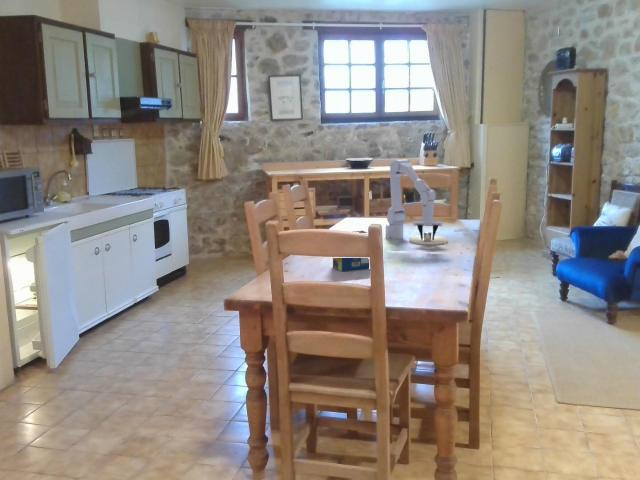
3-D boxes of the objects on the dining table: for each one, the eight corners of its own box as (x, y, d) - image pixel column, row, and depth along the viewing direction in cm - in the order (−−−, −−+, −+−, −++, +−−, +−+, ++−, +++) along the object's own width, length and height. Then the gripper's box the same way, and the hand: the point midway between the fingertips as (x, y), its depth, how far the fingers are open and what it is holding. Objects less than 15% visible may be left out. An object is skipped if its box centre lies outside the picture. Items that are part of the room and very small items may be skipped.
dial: (410, 237, 334) (411, 226, 333) (447, 238, 329) (448, 227, 328) (407, 244, 315) (407, 232, 313) (447, 245, 310) (447, 233, 309)
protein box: (332, 266, 273) (332, 233, 270) (363, 263, 278) (363, 230, 275) (341, 272, 263) (341, 236, 260) (373, 268, 268) (373, 234, 266)
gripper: (413, 214, 309) (412, 240, 312) (442, 215, 306) (441, 241, 308) (414, 212, 316) (413, 238, 318) (442, 213, 313) (442, 238, 315)
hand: (427, 239), depth 314 cm, fingers open, 5 cm apart
